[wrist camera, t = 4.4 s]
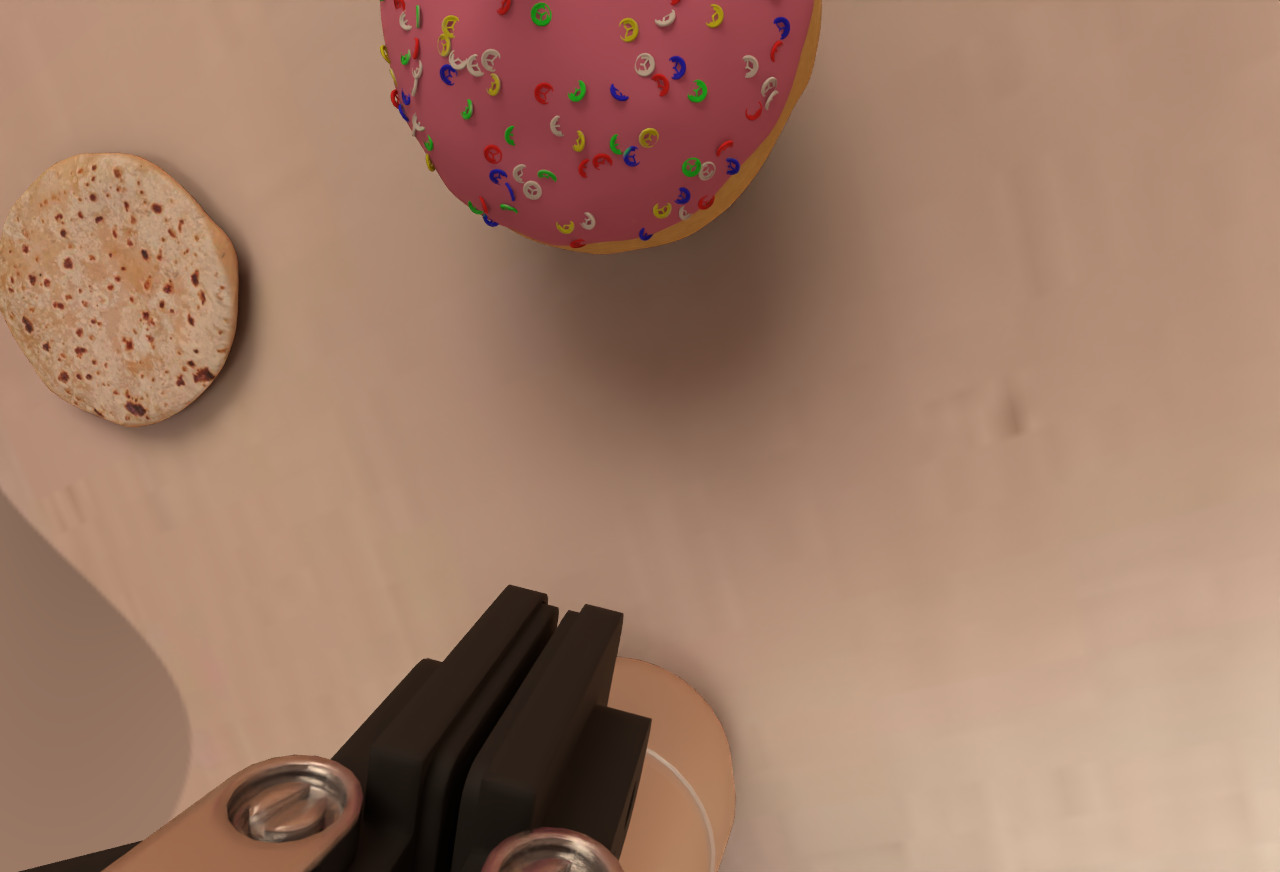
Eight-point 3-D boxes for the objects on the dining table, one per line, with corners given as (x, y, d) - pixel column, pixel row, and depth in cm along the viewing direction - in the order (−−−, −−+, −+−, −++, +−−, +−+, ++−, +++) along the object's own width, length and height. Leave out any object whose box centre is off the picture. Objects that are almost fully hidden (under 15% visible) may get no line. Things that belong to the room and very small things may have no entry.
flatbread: (104, 458, 26) (77, 466, 25) (-28, 237, 25) (-61, 238, 24) (301, 345, 24) (280, 349, 23) (164, 98, 23) (136, 92, 22)
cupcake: (410, 69, 21) (-54, -131, 10) (648, -214, 19) (397, -928, 7) (631, 318, 22) (432, 406, 10) (893, 73, 19) (1023, -176, 8)
